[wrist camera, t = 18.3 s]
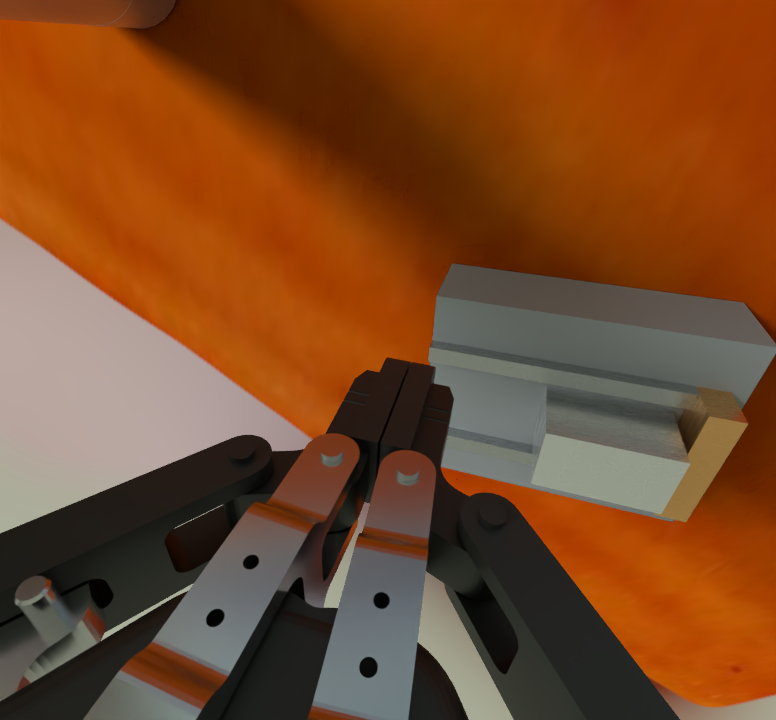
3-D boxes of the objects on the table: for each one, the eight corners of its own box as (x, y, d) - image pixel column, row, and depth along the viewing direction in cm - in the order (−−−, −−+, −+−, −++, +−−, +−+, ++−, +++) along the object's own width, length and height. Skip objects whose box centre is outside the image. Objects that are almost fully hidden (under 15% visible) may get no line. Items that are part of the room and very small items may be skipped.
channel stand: (435, 418, 44) (412, 488, 37) (452, 263, 35) (426, 316, 28) (658, 466, 40) (682, 556, 32) (743, 302, 31) (802, 377, 23)
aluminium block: (533, 433, 34) (530, 483, 30) (546, 385, 32) (545, 433, 28) (647, 458, 32) (661, 514, 28) (672, 409, 30) (690, 463, 26)
